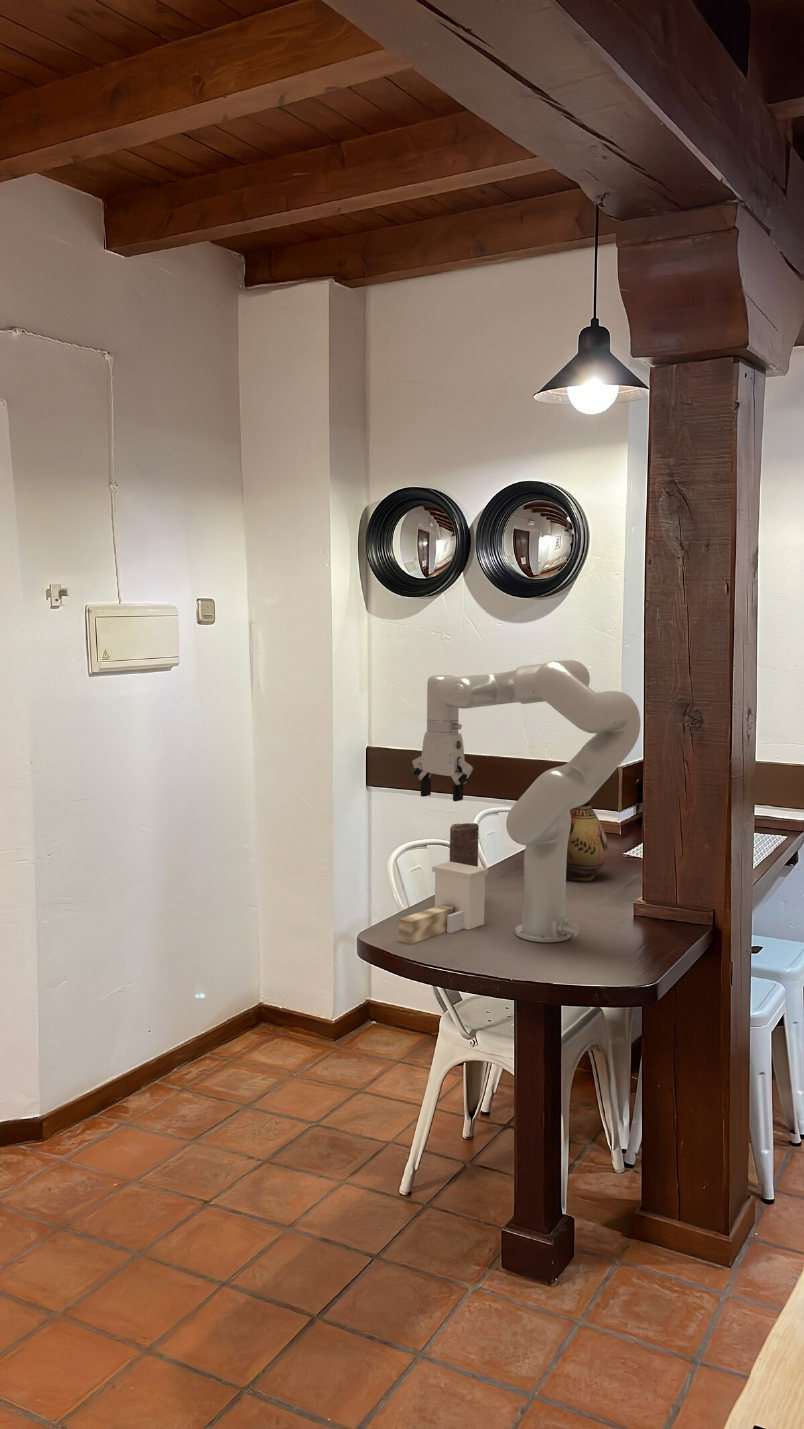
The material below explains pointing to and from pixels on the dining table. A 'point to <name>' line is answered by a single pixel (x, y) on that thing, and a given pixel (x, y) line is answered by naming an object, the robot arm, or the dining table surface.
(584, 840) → the ceramic jug
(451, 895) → the white upright pillar
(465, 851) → the candle
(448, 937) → the dining table surface
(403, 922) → the wooden block
